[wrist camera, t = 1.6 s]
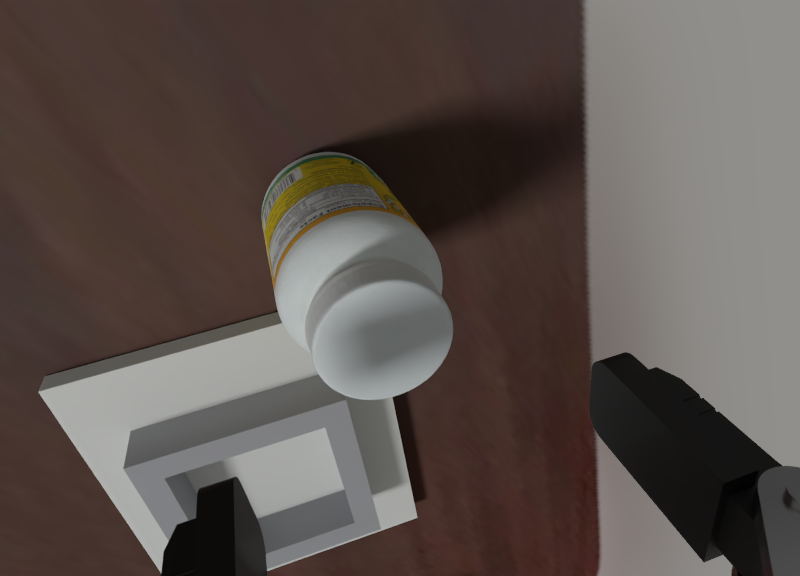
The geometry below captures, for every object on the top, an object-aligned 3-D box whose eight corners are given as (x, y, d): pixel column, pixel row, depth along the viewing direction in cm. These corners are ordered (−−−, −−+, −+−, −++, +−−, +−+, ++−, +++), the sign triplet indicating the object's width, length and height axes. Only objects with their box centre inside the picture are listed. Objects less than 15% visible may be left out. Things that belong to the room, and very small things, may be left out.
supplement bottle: (249, 158, 21) (268, 273, 13) (384, 141, 22) (480, 237, 14) (272, 280, 24) (300, 438, 16) (392, 259, 25) (474, 396, 17)
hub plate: (44, 376, 23) (21, 429, 20) (366, 286, 25) (384, 324, 22) (181, 584, 31) (178, 642, 29) (412, 504, 34) (429, 550, 31)
